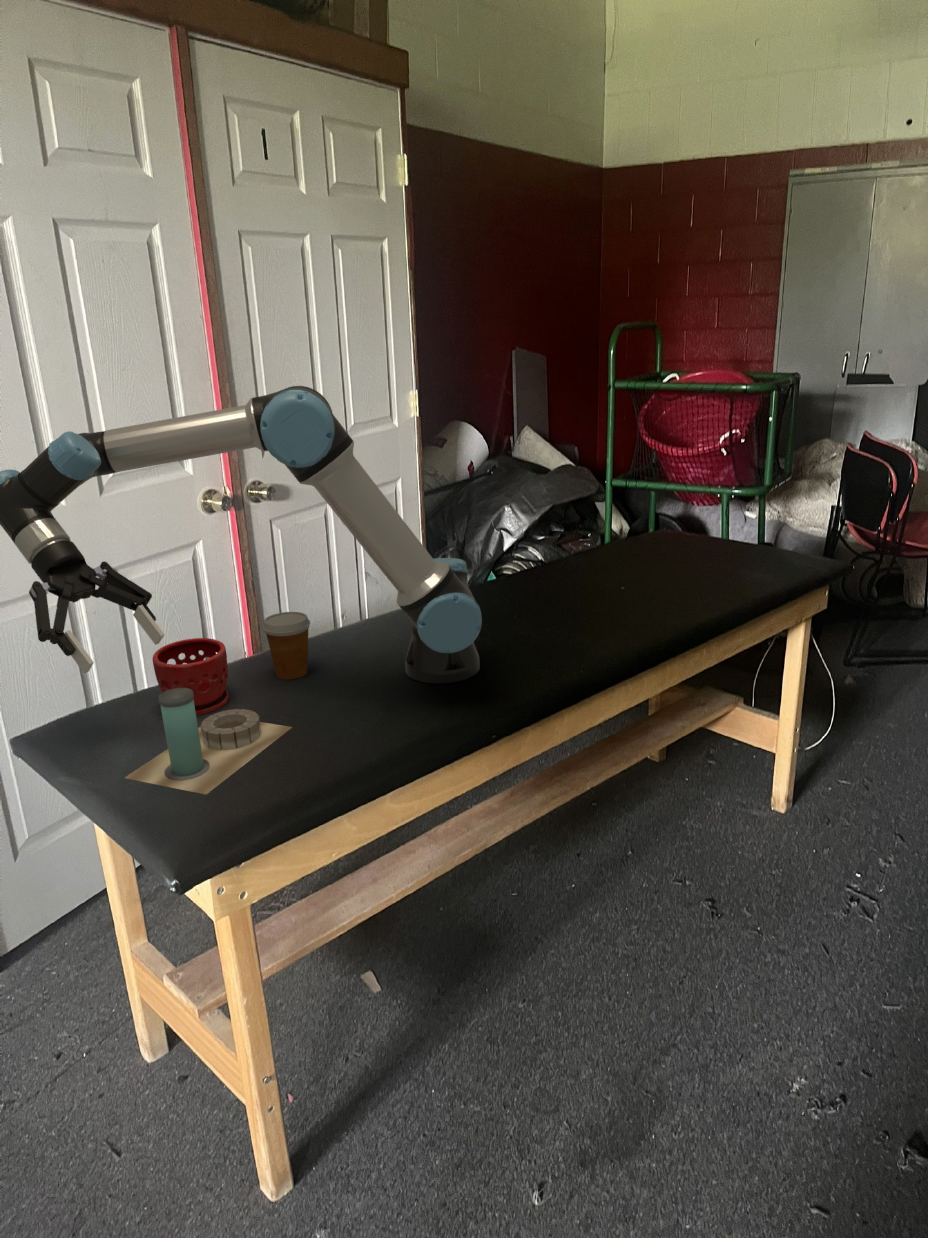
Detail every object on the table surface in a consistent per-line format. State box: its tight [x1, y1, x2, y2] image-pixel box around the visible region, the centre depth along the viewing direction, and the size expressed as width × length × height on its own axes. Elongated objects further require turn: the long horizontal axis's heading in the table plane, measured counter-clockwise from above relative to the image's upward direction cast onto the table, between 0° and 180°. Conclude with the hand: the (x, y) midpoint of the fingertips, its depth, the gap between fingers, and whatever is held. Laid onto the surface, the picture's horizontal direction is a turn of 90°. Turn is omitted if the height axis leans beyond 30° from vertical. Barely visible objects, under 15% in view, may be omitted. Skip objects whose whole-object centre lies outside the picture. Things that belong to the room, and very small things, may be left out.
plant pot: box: [152, 637, 230, 716], centre depth 165 cm, size 13×13×12 cm
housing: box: [124, 708, 293, 796], centre depth 148 cm, size 16×24×4 cm, turn 158°
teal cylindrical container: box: [158, 688, 204, 776], centre depth 140 cm, size 5×5×13 cm
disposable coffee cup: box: [262, 611, 311, 680], centre depth 179 cm, size 10×10×12 cm
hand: (126, 653), depth 142 cm, fingers open, 13 cm apart
